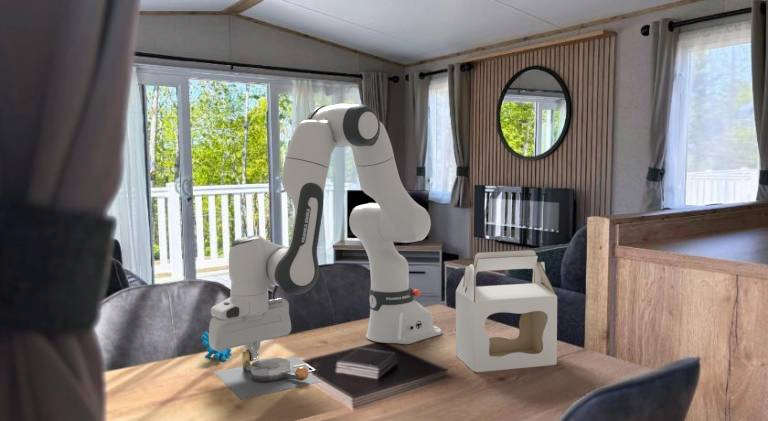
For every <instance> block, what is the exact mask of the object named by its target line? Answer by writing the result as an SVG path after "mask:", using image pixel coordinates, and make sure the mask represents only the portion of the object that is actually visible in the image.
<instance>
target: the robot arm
mask: <svg viewBox="0 0 768 421" xmlns="http://www.w3.org/2000/svg"><path fill="white" fill-rule="evenodd" d="M291 136H292V137H291V138H290V142H289V144H288V147H287V150H286V154H285V158H284V162H283V167H282V175H281V183H282V187H283V189H284V191H285V193H287V195H288V196H289V197H290V199H291V201H292V203H293V207H294V218H293V222H292V223H293V224H292V230H291V236H290V241H289V242H290V243H289V246H285V245H280V244H277V243H275V242H272V241H269V240H267V239H265V238H264V237H262V236H261V235H258V234H255V235H247V236H243V237H240V238H237V239H236V240H234V241H233V242H232V243H231V245H230V248H229V253H228V273H229V274H228V275H229V279H230V281H231V283H230V284H231V286H230V296H229V297H228V298H226V299H225V300H223V301H221V302H218V303H217V304H215V305H213V306H212V307H211V308H210V312H211V313H210V314H211V316H213V317H212V318H211V319H210V322H209V326H208V333H209V345H210V347H211V348H212V349H214V350H216V351H222V350H226V349H234V348H237V347H242V346H244V348H245V350H249V351H250V362H253V361H254V362H255V361H258V360H259V349H260V348H261V342H262V341H267V340H271V339H275V338H280V337H282V336H283V337H284V336H288V335H290V333H291V331H292V322H291V317H290V313H289V312H290V303H289V301H288V300H287V299H285V298H284V297H278V298H275V299H274V298H273V299H269V287H270V286H274V285H275V286H277V287H279V288H280V289H281V290H283V291H284V292H285V293H287V294H290V295H292V296H294V295H296V296H298V295H303V294H305V293H307V292H308V291H310V290H311V289H312V288H313V287H314V286H315V285H316V284H317V281H318V279H319V275H320V273H319V272H320V267H319V266H320V265H319V259H318V246H319V245H318V244H319V238H320V232H321V231H320V230H321V225H322V219H323V211H324V198H325V189H326V181H327V177H328V173H329V168H330V163H331V158H332V153H333V151H334V149H336V147H337V148H339V147H340V148H344V147H350V148H351V151H352V157H353V160H354V164H355V165H354V166H355V169H356V174H357V177H358V182H359V185H360V188H361V190H362V192H363V193H364V194H365V195H367V196H369V197H370V198H372V199H373V200H374V201H375V202H368V203H364V204H360V205H357V206H355V207H354V208H352V211H351V212H350V216H349V219H348V220H349V222H348V224H349V227H350V231H351V233H352V234H353V235H354V236H355V237H356V238H357V239H358V240H359V241H360V243H361V244H362V246H363V248H364V250H365V253H366V254H367V258H368V262H369V271H370V288H369V296H368V297H369V298H368V299H369V308H370V309H369V320H368V327H367V331H366V334H365V338H366V339H367V340H369V341H372V342H376V343H385V344H402V345H410V344H414V343H416V342H420V341H422V340H426V339H430V338H433V337H437V336H440V335H442V330H441V328H440V327H438V326H436V325H434V319H433V314H432V313H431V312H430V311H429V309H427V308H425V307H424V306H423V305H422V304H420V303H419V302H418V301H416V300H415V298H414V296H415V297H420V296H421V294H422V292H421V290H420V289H417V288H414V289H412V288H410V286H409V285H410V284H409V282H410V280H409V278H410V276H409V273H410V272H409V270H410V269H409V262H408V260H407V259H406V257H404V256H403V255H402V254H400V253H399V251H398V250H397V248H396V246H395V244H394V242H395V243H404V244H405V243H407V244H408V243H413V242H414V243H415V242H419V241H423V240H424V239H425V238H426V237H427V236H428V235H429V232H430V230H431V226H432V224H431V222H432V221H431V216H430V214H429V212H428V211H427V209H426V208H425V207H423V206H421V205H420V204H419V203H418V202H416V201H415V200H414V198H412V196H411V195H410V194H409V193H408V191H407V190H406V188H405V187H404V185H403V183H402V180H401V178H400V175H399V171H398V168H397V164H396V160H395V155H394V149H393V146H392V143H391V139H390V138H389V134H388V132H387V129H386V128H385V125H384V124H383V123H382V122H381V121H380V119H379V116H378V114H377V113H376V111H375V110H374V108H372V107H370V106H368V105H366V104H361V103H356V104H352V103H338V104H332V105H322V106H321V105H320V106H318V107H317V108H315V109H313V110H312V111H310V113H309V114H308V116H307V118H306V120H303V121H301V122H299V123H298V124H297V125H296V127H295V130H294V132H293V134H292V135H291Z"/></svg>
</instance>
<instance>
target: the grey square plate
mask: <svg viewBox="0 0 768 421" xmlns="http://www.w3.org/2000/svg"><path fill="white" fill-rule="evenodd" d="M283 359H287V360H289V361H290V372H291V373H295V372H296V370H297V368H299V367H305V368H307V370H308V373H309V374H308V377H307V378H306V379H305V380H302V381H300V380H295V379H290V378H284V379H281V380H277V381H269V382H257V381H254V380H252V377H251V371H249V370H248V371H243V366H239V367H232V368H228V369H223V370H218V371H214V372H213V373H214V374H215V375H216V376H217V377H218V378H219V379H220V380H221V381H222V382H223V383H224V384H225V385H226V386H227V387H228V388H229V389H230V391H231V392H233V393H234V395H236V397H237V398H238V399H239V400H240V401H241V400H246V399H250V398H254V397H255V398H256V397H260V396H264V395H268V394H273V393H274V394H275V393H278V392H282V391H287V390H291V389H296V388H299V387H305V386H309V385H313V384H318V383H322V382H321V381H319V380H318V379H317V378H316V377H315V376H313V375H312V373H310V372H312V371H315V370H317V369H315V368H314V367H312V366H311V365H310V364H308V363H307V362H305V361H303V360H302V359H301V358H299V357H297V356H289V357H285V358H283ZM309 368H311V369H312V370H309Z"/></svg>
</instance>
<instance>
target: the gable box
mask: <svg viewBox="0 0 768 421" xmlns="http://www.w3.org/2000/svg"><path fill="white" fill-rule="evenodd" d="M538 256H539V255H537V253H536V251H535V250H533V249H527V250H526V249H525V250H510V251H509V250H505V251H502V250H501V251H486V252H485V251H483V252H476V253H475V254H474V256H473V262H472V263H471V264H469V265H464V273H463V274H464V275H463V276H462V278H461V280H460V282H459V284H458V286H457V288H456V289H455V355H456V357H457V358H458V359H459V360H460V361H461V362H463V364H465V365H466V366H467V367H468V368H469V369H470V370H471V371H472V372H474V373H476V374H477V373H485V372H496V371H505V370H506V371H507V370H516V369H517V370H518V369H526V368H535V367H536V368H537V367H547V366H557V364H558V362H557V360H558V358H557V357H558V356H557V355H558V354H557V353H558V350H557V349H558V348H557V347H558V342H557V341H558V340H557V337H558V294H557V293H556V291H555V289H554V287H553V285H552V283H551V281H550V279H549V276H548V275H547V273H546V266H545V261H538V258H539V257H538ZM524 269H525V270H526V269H528V270H530V269H532V282H525V283H523V282H522V283H509V284H493V285H477V284H476V283H477V281H476V279H477V278H476V276H477V274H478V272H486V271H487V272H488V271H504V270H507V271H508V270H524ZM498 313H510V314H519V315H520V314H521V315H520V318H519V321H518V328H519V335H518V336H517V337H516V338H512V339H511V338H510V339H509V338H506V337H500V336H494V337H489V335H488V331H487V329H486V320H487V318H488V317H489V316H491V315H494V314H498Z"/></svg>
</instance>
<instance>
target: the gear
mask: <svg viewBox="0 0 768 421" xmlns="http://www.w3.org/2000/svg"><path fill="white" fill-rule="evenodd" d="M200 339H201V340H202V342H201V343H202V346H204V347H207V348H206V351H207V353H206V355H205V356H204V357H203V358H205V359H208V358H210V357H212V355H213V358H215V359H216V360H218V359H220V361H221V362H227V360H228V359H230V358H231V357H232V356H233V354H232V353H231V352H232V348H230V349H226V350H222V351H216V350H214V349H212V348H211V347H210V345H209V331H204V332H203V333H202V336H201V337H200ZM220 357H221V358H220Z"/></svg>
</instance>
